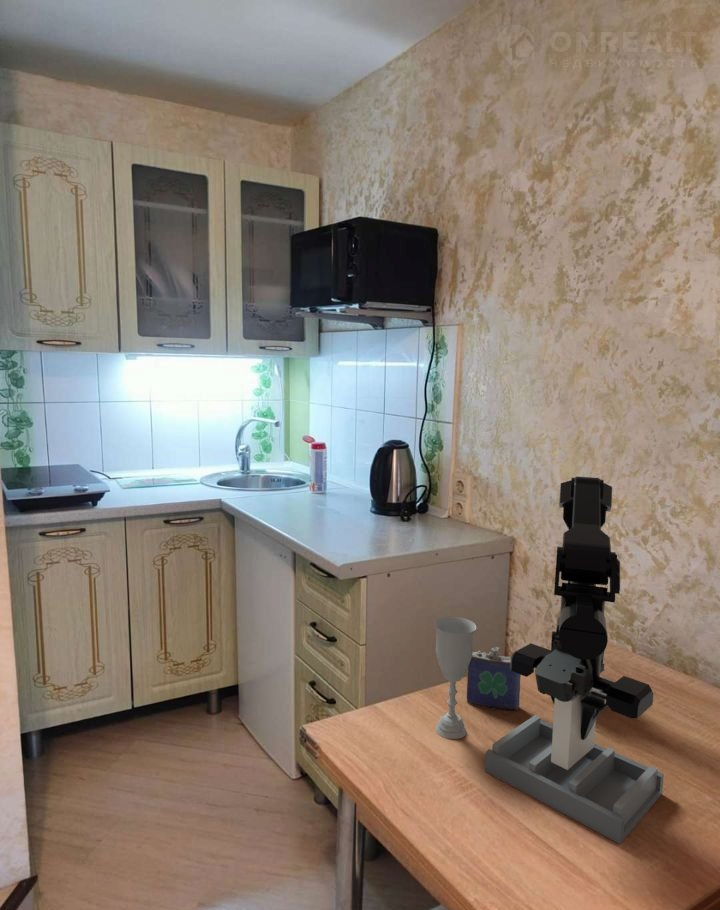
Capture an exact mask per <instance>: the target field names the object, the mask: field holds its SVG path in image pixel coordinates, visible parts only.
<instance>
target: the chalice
mask: <svg viewBox="0 0 720 910" xmlns="http://www.w3.org/2000/svg"><path fill="white" fill-rule="evenodd" d="M433 625H434V629H435V630H436V637H435V638H436V639H435V640H436V641H435V655H436V657H437V662H438V665H439V667H440V670H441V672H442V674H443V677H444V678H445V680H447V681H449V686H448V687H449V688H448V689H447V693H448V694H449V698H448V699H447V701H446V703H447V705H448V711H447V712H445V713H443V714H442V715H441V716H440V718H439V720H438V722H437V725H436V726H435V732H436V733H437V734H438V735H439V736H441V737H442V738H445V739H450V740H459V739H462V738H464V737H465V736H466V734H467V729H466V727H465V724H464V721H463V718H462V717H461V716H460V715H459V714H457V713H456V712H455V708H456V705H457V704H458V701H457V699H456V696H457V693H458V690H457V687H456V683H457V682H460V681H461V680H462V678H463V677H464V675H465V673H466V672H467V671H468V666H469V663H470V660H471V658H472V652H473V646H474V634H475V631H476V630H477V625H476V623H475V622H474V621H472V620H470V619H467V618H464V617H460V616H442V617H438V618H436V619H435V620H434V622H433Z"/></svg>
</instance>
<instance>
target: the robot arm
mask: <svg viewBox="0 0 720 910" xmlns="http://www.w3.org/2000/svg"><path fill="white" fill-rule="evenodd" d="M604 481H605V480H604V479H601V478H600V477H592V476H576V475H575V477H571V479H570V480H568V481H564V482H561V483H560V484H559V485H560V489H559V490H560V491H559V503H558V504H559V505H558V506H559V509H560V508H562V511H563V512H562V519H563V522H564V524H565V525H566V527H567V529H568V530H566V531H565V532H563V537H562V546H556V547H557V548H556V557H555V558H556V561H555V575H554V591H553V595H554V596H559V597H560V614H559V616H558V618H557V620H556V630H555V631H551V646H550V649H548V648H545V647H543V646H540V645H537V644H535V643H531V642H530V643H529V644H527V645H524V646H523V647H521V648H519V649H518V650H515V651H514V652H513V653H512V654H511V656H510V657H511V660H510V669H511V671H513V672H515V673H518V674H520V675H521V676H524V677H526V678H527V677H530V676H531V675H533V674H534V676H535V681H536V687H537V688H536V689H537V691H538V693H540V694H543V695H548V696H550V698H551V701H552V703H553V705H554V702H555V698H557V699H558V700H559V701H562V702H568V701H570V700H571V699H572V698H573V696H576V695H581V696H583V697H585V698H584V699H582V700H581V704H582V706H583V716H582V724H581V739H582V740H585V739H586V738H587V736H588V734H589V732H590V731H591V729H592V727H593V725H594V723H595V721H596V722H597V719H598V718H599V716H600V714H601V712H602V711H605V710H606V709H607V708H609V709H610V711H611V712H614V713H617V714H619V715H622V716H624V717H627V718H629V719H639V718H640V717H641V715H643V714H644V713H645V712H647V710H649V708H651V707H652V706H653V702H654V691H653V690H652V688H651V686H650V684H648V683H645V682H642V681H640V680H636V679H635V678H632V677H629V676H626V675H623V676H622V677H620V678H619V679H618V680H613V679H611V678H608V677H605V676H601V673H602V672H604V671H605V663H604V656H605V650H606V649H607V647H608V646H607V645H608V641H609V640H608V639H609V638H608V637H609V636H608V630H607V623H606V617H605V608H606V607H605V605H606V602H607V603H613V604H615V603H616V594H617V595H619V594H620V592H621V561H620V560H619V559H618V554H617V552H616V551H615V552H614V551H612V547H611V546H612V545H611V537H610V536H609V535H608V534H606V533H605V532H604V531H602V527H603V526H604V525H605V523H606V519H607V512H611V509H612V505H613V502H612V501H613V486H611V485H609V484H607V483H605V482H604ZM560 579H561V580H562V581H565V582H561V585H560ZM597 585H598V586H597ZM608 585H609V591H608V587H606V586H608ZM588 693H589V695H588V696H587V694H588ZM586 696H587V697H586Z"/></svg>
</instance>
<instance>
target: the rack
mask: <svg viewBox="0 0 720 910" xmlns="http://www.w3.org/2000/svg"><path fill="white" fill-rule="evenodd" d="M552 736H553V724H551V723H549V722H547V721H545V720H543V719H541V716H538V715H536V714H535V715H532V716H531V717H530V718H529V719H527V720H526V721H524V722H523V723H521V724H519V725H518V726H517V727H515V728H514V729H512V730H511V731H510V732H508V733H507V734H505V735H504V736H502V737H501V738H499V739H498V740H496V741H495V742H493V743H492V748H491V749H490V748H488V749H487V750H486V751H485V753H484V754H485V756H484V772H486V773H488V774H489V775H492V776H493V777H495V778H497V779H499V780H500V781H503V782H504V783H506V784H508V785H510V786H512V787H514V788H516V789H517V790H519V791H521V792H523V793H525V794H526V795H528V796H530V797H532V798H533V799H535V800H538V801H540V802H541V803H543V804H545V805H547V806H548V807H550V808H552V809H554V810H556V811H558V812H560V813H562V814H563V815H565V816H567V817H568V818H571V819H572V820H574V821H576V822H578V823H580V824H582V825H583V826H585V827H587V828H589V829H590V830H592V831H595V832H596V833H598V834H599V835H602V836H603V837H606V838H607V839H609V840H611V841H612V842H615V843H616V844H618V845H621V843H622V842H623V841H624V840H625V839H626V838H627V837H628V835H629V834H630V833H631V831H632V830H633V829H634V828H635V827H636V826H637V824H638V823H639V822H640V821H641V820H642V819H643V817H644V816H646V814H647V813H648V811H649V810H650V809H651V808H652V806H654V804H655V803H656V802H657V801H658V800H659V798H661V796H662V795H663V787H664V775H665V774H664V773H662V772H661V771H658V770H659V769H658V768H657V767H654V766H653V765H649V766H646V765H644V764H642V763H639V762H637V761H635V760H632V759H630V758H628V757H626V756H625V755H621V754H619V753H617V752H616V750H615V749H614V748H612V747H609V746H607V747H606V748H605V747H603V746H601V745H599V744H596V743H594V748H592V749H591V750H590V751H589V752H588V753H587V754H586V755H584V756H583V757H582V758H581V759H580V760H579V761H577V762H576V763H575V764H574V765H573V766H572V767H571V768H569V769H568V770H566V769H564V768H562V767H560V766H558V765H556V764H554V763H552V762H551V753H552Z"/></svg>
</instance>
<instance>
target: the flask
mask: <svg viewBox="0 0 720 910" xmlns="http://www.w3.org/2000/svg"><path fill="white" fill-rule="evenodd" d="M500 649H501V648H500V647H497V646H495V647H491V651H489V652H487V653H486V652H484V651H483V652H482V651H481V649H480V650H478V651H472V658H471V660H470V663H469V666H468V668H467V676H466V677H467V681H466V683H467V684H466V702H467V704H469V705H471V706H474V707H479V708H484V709H494V710H497V711H498V710H499V711H507V712H512V711H514V712H515V711H518V710H519V708H520V700H521V699H520V698H521V697H520V693H521V677H522V675H520V674H518V673H515V672H513V671H511V669H510V660H511V656H503V655H500V654H499V653H500Z"/></svg>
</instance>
